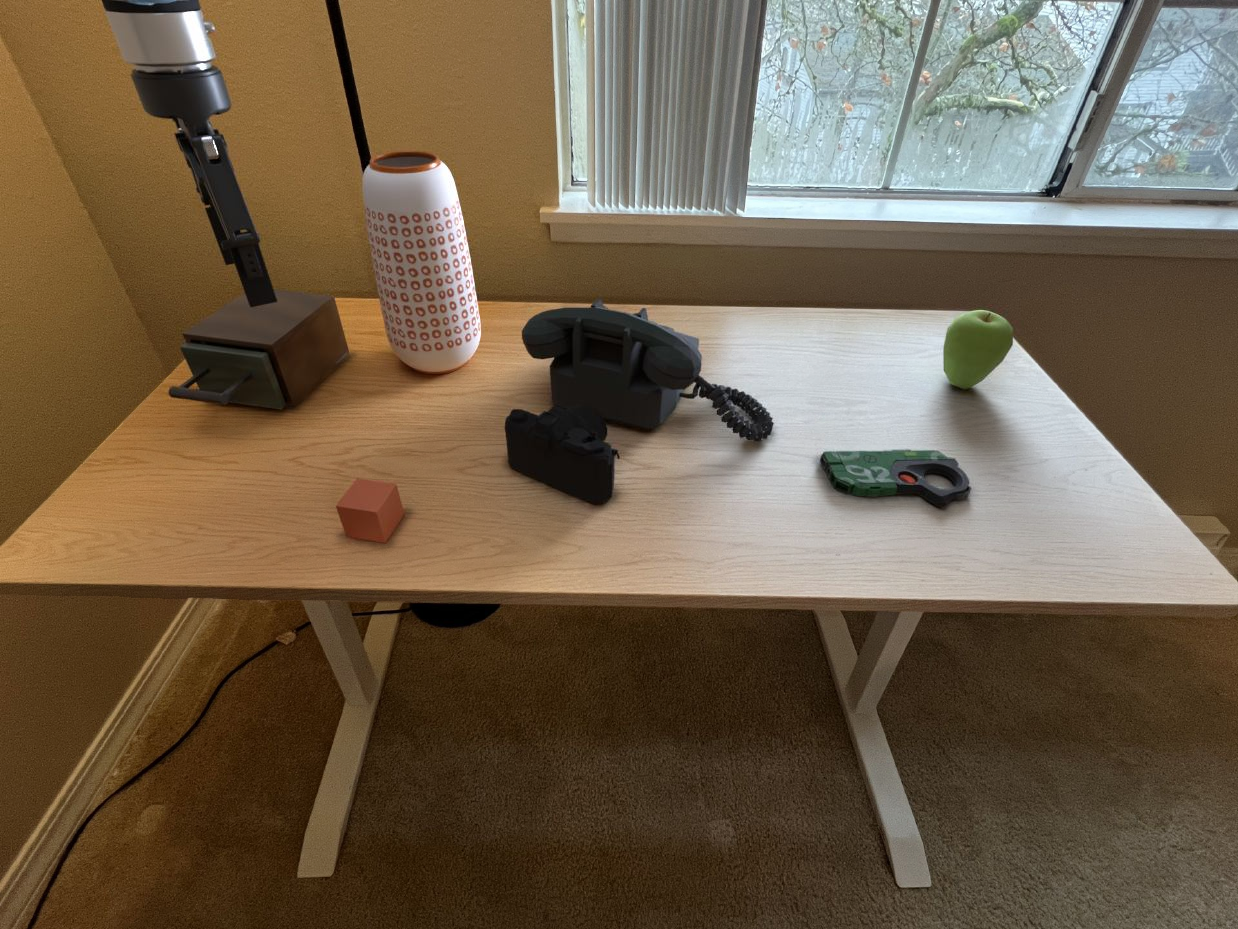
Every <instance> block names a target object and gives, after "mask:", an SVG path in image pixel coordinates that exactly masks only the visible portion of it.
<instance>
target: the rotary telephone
mask: <svg viewBox="0 0 1238 929" xmlns="http://www.w3.org/2000/svg"><path fill="white" fill-rule="evenodd" d="M523 326H524V327H523V328H522V329H521V340H522V343H523V345H524V347H525V349H526V352H527V354H528V355H529V356H530V357H531V358H532V359H536V360H547V359H552V361H551V363H550V365H549V381H550V382H549V384H550V385H549V386H550V399H551V400H550V401H551V403H552V404H554V405H555V406H556V407H559V408H562V409H564V410H567V409H568V408H570V407H573V406H575V405H576V404H586V405H589V406H591V407H593V408H595V409H596V410H597V411H598V412H599V413H600V414H601V415H602V417H603V418H604V420H605V422H609V423H613V424H617V425H621V426H626V427H630V428H634V429H637V430H641V431H643V430H648V431H649V430H652V429H655V428H657V427H658V426H660V425H661V424H663V422H664V421H665V420H666V419H667V418H668V417H669V416H670V415H671V414H672V412H674V411H675V409H676V408H677V405H678V403H679V401H680V400H681V398H684V399H690V400H694V399H695V398H697V397H699V398H701V399H705V398H706V399H707V400H709V401H711V402H712V404H711V407H712V408H713V409H715V410H716V412H715V414H716V416H718V417H720V422H721V423H723V424H726V428H727V429H731V431H732V434H738V436H739V438H740V439H743V438H745V439H746V441H748V442H749V441H754V442H762V440H768V436H771V435H772V431H773V427H774V425H775V422H773V419H774V418H773V417H772V416H770V415H771V412H769V411H768V410H767V408H766V407H764V406H763V403H760V402H759V401H758V399H756V398H754V397H753V396H752V395H751V394H749V393H748V394H746V392H745V391H739V389H738V388H732V387H731V386H725V385H723V384H717V383H711V382H708V380H706V379H704V377H702V376H701V375H700V373H701V370H702V362H703V361H702V360H703V358H702V357H703V355H702V354H701V352H700V350H699V345H700V339H699V338H698V337H695V336H692V335H689V334H686V333H682V332H680V331H676V330H675V329H674V327H670V326H666V325H662V324H658V322H655V321H652V320H649V315H648V311H647V308H645V307H642V308H640V310H639V312H635V313H630V312H626V311H621V310H617V309H616V310H615V309H611V308H609V307H606V306H605V305H604V303H603V301H602V300H601V299H598V298H596V300H594V302H592V304H591V305H590V306H589V307H561V308H553V309H547V310H544V311H541V312H539V313H537V314H535V315H533V316H532V317H530V318H529V319H528V320H527V321H526V323H525V325H523ZM694 383H695V384H694ZM693 384H694V386H693V388H692V392H691V393H688V392H684V390H686V389H688V387H690V386H691V385H693ZM736 407H738V408H739V409H740V410H741V411H743V412H744V413H745V414H747V415H748V417H750V418H751V421H753V422H750V419H746V418H745V415H740V411H737V410H736Z"/></svg>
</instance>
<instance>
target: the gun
mask: <svg viewBox="0 0 1238 929" xmlns="http://www.w3.org/2000/svg"><path fill="white" fill-rule="evenodd" d="M822 452H823V453H822V454H820V458H819V463H820V465H821V467H822V469H823V470H824V471H825V472H826V475H827V476H826V477H828V480H829V483H830V484H831V486H832V488H833V489H835V490H837V491H840V492H842V493H844V494H846V495H848V494H849V495H850V494H851V495H853V496H857V497H869V498H870V497H881V496H896V494H899V495H901V494H902V495H919V496H920V497H922V498H924V499H925V500H926V501H928V502H929V503H932V504H933V505H935V506H936V507H939V508H946V507H947V506H948V503H949V502H952V501H957V500H962V499H964V498H966V497H968V496H969V495H970V493H971V491H972V487H971V486H969V485H970V483H971V482H970V478H969V477H968V475H967V473H966V472H965V471H964V470H963V469H962V468H960V467H959V462H958V460H957V459H956V458H955V457H950V456H947V455H945V454H944V453H942V452H941V451H939V450H934V449H929V450H928V449H921V450H920V449H919V450H918V449H917V450H916V449H915V450H913V449H912V450H911V449H891V450H826V451H822ZM928 473H930V474H931V473H935V474H940V475H943V476H945V477H947V478H948V479H950V480H951V481H952V482H953V484H954V487H952V488H943V487H942V488H941V487H938V486H935V485H933V484H932V483H931V482H928V480H927V479H926V478H925V475H926V474H928Z"/></svg>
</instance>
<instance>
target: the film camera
mask: <svg viewBox="0 0 1238 929" xmlns="http://www.w3.org/2000/svg"><path fill="white" fill-rule="evenodd" d="M503 429H504V432H505V443H506V451H507V463H508V465H509V467H510V468H511V469H513V470H515V471H516V472H519V473H522V474H523V475H525V476H527V477H529V478H532V479H534V480H536V481H538V482H541V483H542V484H545V485H547V486H549V487H551V488H553V489H556V490H558V491H561V492H562V493H565V494H567V495H569V496H571V497H574V498H576V499H580V500H582V501H584V502H587V503H590V504H592V505H603V504H606V503H607V502H609V501H610V500H611V499H612V497H613V492H614V491H613V490H614V485H615V467H616V466H615V464H616V458H617V459H618V460H620V459H621V456H620V454H619V450H618V449H616V448H612V445H611V444H610V443H608V442H605V441H606V440H607V437H608V425H607V421H605V420H604V418H603V417H602V415H601V414H600V413H599V412H598V411H597V410H596V409H595V408H593V407H591V406H589V405H586V404H576V405H575V406H573V407H570V408H568V409H567V410H564V409H562V408H561V407H559V406H557V405H553V406H551V407H550V408H549V409H548V410H547V411H546V410H544V411H542V412H541V413H540V414H539V415H538V414H535V413H532V412H530V411H528V410H524V409H523V408H514V409H512V410H511V411H510V413H509V415H507V416H506V417H505V421H504V426H503Z"/></svg>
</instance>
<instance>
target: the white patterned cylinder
mask: <svg viewBox="0 0 1238 929" xmlns="http://www.w3.org/2000/svg"><path fill="white" fill-rule="evenodd" d="M361 181H362V182H361V185H362V187H361V188H362V201H363V208H364V214H365V215H364V217H365V224H366V232H367V237H368V243H369V249H370V255H371V261H372V267H373V273H374V280H375V284H376V289H377V294H378V299H379V305H380V308H381V309H380V310H381V314H382V318H383V319H382V320H383V324H384V329H385V335H386V338H387V342H388V343H389V345H390V347H391V349H392V351H393V352H394V354H395V355H396V356H397V357H398V358H399V359H400V360H401V361H402V362H403V363H404V364H406V365H407V366H409V367H411V368H412V369H413V370H415V371H416V372H418V373H421V374H427V375H443V374H449V373H452V372H455V371H458V370H459V369H461V368H463V367H464V366H465V365H466V364H467V363H469V360H470V359H471V358H472V357H473V356H474V354H475V353H476V351H477V349H478V347H479V345H480V341H481V334H482V327H481V326H482V325H481V317H480V310H479V304H478V296H477V291H476V285H475V278H474V272H473V266H472V260H471V254H470V249H469V248H470V247H469V243H468V238H467V232H466V228H465V223H464V222H465V221H464V217H463V212H462V208H461V203H460V199H459V195H458V194H459V193H458V189H457V186H456V183H455V179H454V177H453V174H452V172H451V170H450V169H449V167H448V166H447V165H446V163H444V162H443V161H442V160H440V158H439V156H438V155H437V154H435V153H432V152H429V151H425V150H424V151H423V150H394V151H387V152H383V153H379V154H377V155H374V156H373V157H371V158H370V160H369V164H368V165H367V166H366V168H365V169H364V171H363V174H362V180H361Z"/></svg>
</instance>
